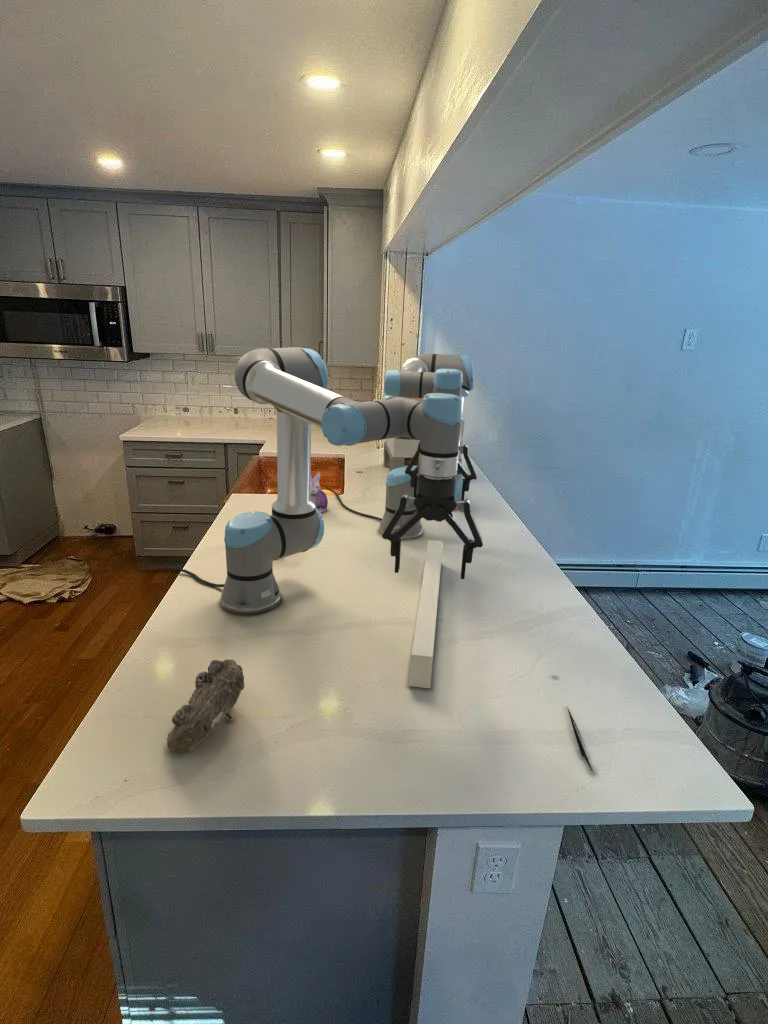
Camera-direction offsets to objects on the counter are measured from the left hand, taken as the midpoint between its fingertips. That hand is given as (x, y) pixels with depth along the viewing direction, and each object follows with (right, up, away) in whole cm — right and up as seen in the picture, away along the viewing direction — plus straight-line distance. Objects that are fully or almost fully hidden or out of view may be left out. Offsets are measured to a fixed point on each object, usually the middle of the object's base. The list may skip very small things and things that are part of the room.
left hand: (429, 573), depth 118 cm
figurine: (-35, +13, +101) cm, 108 cm away
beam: (+2, -14, +31) cm, 34 cm away
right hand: (+6, +16, +46) cm, 49 cm away
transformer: (+8, +32, +157) cm, 161 cm away
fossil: (-42, -26, -10) cm, 51 cm away
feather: (+27, -28, -6) cm, 40 cm away
